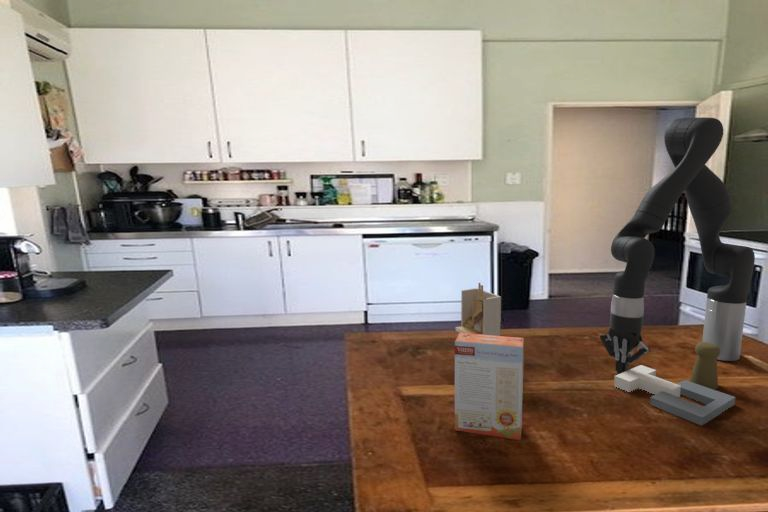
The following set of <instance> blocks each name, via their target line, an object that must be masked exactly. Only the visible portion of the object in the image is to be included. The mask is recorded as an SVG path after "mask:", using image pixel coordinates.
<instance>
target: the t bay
mask: <svg viewBox="0 0 768 512" xmlns="http://www.w3.org/2000/svg"><path fill="white" fill-rule="evenodd" d="M676 384H678V385H681V390H680V396H681V395H683V396H682V397H684V396H686V397H685V398H687V397H688V398H687V399H689V398H691V399H690V400H692V399H694V400H693V401H695V400H696V401H695V402H698V401H699V402H698V403H700V402H701V404H704V406H703V405H700V404H697V403H695V402H692V401H689V400H686V399H684V398H682V397H676V396H674V395H671V394H668V393H666V392H663V391H661V392H659V393H657V394H656V395H651V396H650V400H649V405H650V406H652V407H654V406H655V407H654V408H656V407H657V409H659V410H661V409H662V411H664V412H667V413H669V414H671V415H673V416H677V417H679V418H682V419H684V420H686V421H689V422H691V423H694V424H696V425H699V426H701V427H702V426H704V425H705V424H707V423H708V422H710V421H712V420H714V419H715V418H716V417H718V416H719V415H721V414H722V412H723V413H724V412H725V410H726V411H728V408H729V409H730V408H731V407H734V406H735V402H736V396H733V395H731V394H727V393H725V392H721V391H719V390H717V389H710V388H707V387H704V386H701V385H698V384H695V383H693V382H690V380H687V379H683V380H682V381H679V382H677V383H676Z"/></svg>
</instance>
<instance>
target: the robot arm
mask: <svg viewBox="0 0 768 512" xmlns="http://www.w3.org/2000/svg"><path fill="white" fill-rule="evenodd" d="M723 137H724V125H723V123H722V122H721V121H720V120H719V119H717V118H715V117H701V116H700V117H679V118H675V119H673V120H672V121H670V122H669V123H668V124H667V127H666V128H665V130H664V146H665V149H666V151H667V154H668V156H669V158H670V160H671V162H672V165H673V166H674V168H673V169H672V171H670V172H669V173H668V174H667V175H665V176H664V177H663V178H662V179H660V181H658V182H657V183H656V184H655V185H653V186H652V187H651V188H650V189H649V190H648V191H647V192H646V193H645V195H644V197H643V198H642V200H641V202H640V203H639V205H638V207H637V209H636V210H635V212H634V215H633V216H632V218H630V220H629V221H628V222H626V224H625V225H624V226H623V227H622V228H621V229H620V230H619V232H618V233H616V235H615V237H614V238H613V240H612V243H611V246H610V253H611V255H612V257H613V258H614V259H615V260H616V261H619V262H622V263H626V266H625V269H624V271H619V272H617V273H616V274H615V276H614V279H613V280H614V281H613V292H612V298H611V303H610V313H609V315H610V316H609V317H610V318H609V327H610V328H609V329H608V331H607V333H605V334H601V335H600V336H599V338H600V340H601V342H602V344H603V346H604V348H605V350H606V351H607V354H608V355H609V356H610V357H613V358H614V359H615V371H616V374H617V375H618V374H620V373H623V372H625V371H628V370H630V364H631V363H634V362H638V360H640V358H642V357H644V356H645V355H646V354H647V353H649V352H650V351H651V347H650V346H646V345H645V344H644V342H643V337H642V331H643V322H644V309H645V302H644V301H645V300H644V299H645V298H644V297H645V288H646V287H645V286H646V285H645V284H646V280H647V279H648V276H649V273H650V271H651V268H652V265H653V263H654V259H655V247H654V244H653V243H652V242H651V241H650V240H649V239H648V238H646V237H647V236H648V235H650V234H654V233H658V232H659V231H661V230H662V228H663V227H664V225H665V223H666V221H667V220H668V218H669V216H670V214H671V212H672V211H673V208H674V207H675V205H676V203H677V202H678V200H679V199H680V197H681V196H682V195H683V193H684V194H685V198H686V202H687V204H688V208H689V211H690V212H689V213H690V214H691V217H692V219H693V222H694V227H695V229H696V232H697V235H698V240H699V245H700V250H701V255H702V256H701V257H702V261H703V265H704V268H705V269H706V272H708V273H710V274H712V275H716V276H722V277H727V278H730V280H729V283H727V284H725V285H723V284H722V285H716V286H711V287H709V288H708V289H707V295H706V302H705V313H704V323H703V330H702V331H703V332H702V341H701V342H708V343H713V344H715V345H717V346H718V347H719V349H720V355H719V357H717V360H719V361H724V362H737V361H738V360H740V358H741V357H740V356H741V347H742V339H743V333H744V327H745V318H746V317H745V315H746V308H747V302H748V297H749V296H748V295H749V292H750V289H751V282H752V277H753V271H754V267H755V260H756V258H755V251H754V250H753V248H751V247H749V246H746V245H739V244H738V245H736V244H727V243H723V242H722V241H721V237H720V233H721V231H722V230H723V228H724V226H725V225H726V224H727V223H728V221H729V219H730V218H731V216H732V214H733V203H732V200H731V195H730V193H729V189H728V187H727V186H726V184H725V183H724V182H723V180H721V178H719V176H718V175H717V174H715V172H713V170H711V168H709V166H707V165H706V164H707V163H708V162H709V160H710V159H711V158H712V157H713V155H714V154H715V152H716V151H717V150H718V148H719V146H720V145H721V142H722V140H723ZM635 349H636V352H635V353H634V350H635Z"/></svg>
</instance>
